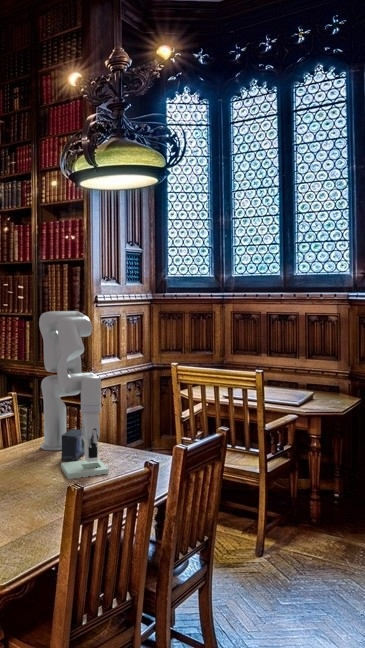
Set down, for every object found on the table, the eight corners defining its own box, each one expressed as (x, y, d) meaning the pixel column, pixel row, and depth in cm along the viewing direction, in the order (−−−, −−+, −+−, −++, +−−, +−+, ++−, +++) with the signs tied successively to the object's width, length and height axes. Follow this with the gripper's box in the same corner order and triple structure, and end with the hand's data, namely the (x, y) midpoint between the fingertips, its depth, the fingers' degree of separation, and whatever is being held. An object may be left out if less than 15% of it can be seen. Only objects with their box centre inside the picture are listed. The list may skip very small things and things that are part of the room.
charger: (84, 459, 212) (84, 433, 212) (95, 458, 214) (94, 432, 213) (87, 462, 209) (87, 435, 208) (97, 460, 210) (97, 434, 210)
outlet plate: (61, 468, 215) (60, 463, 215) (98, 463, 221) (98, 458, 221) (68, 479, 202) (68, 474, 202) (108, 474, 208) (108, 468, 208)
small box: (75, 461, 223) (75, 436, 222) (60, 460, 224) (60, 435, 224) (85, 454, 233) (85, 429, 233) (71, 453, 235) (70, 428, 234)
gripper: (76, 405, 216) (76, 451, 217) (86, 413, 201) (87, 463, 202) (95, 403, 219) (95, 449, 220) (106, 411, 204) (107, 460, 205)
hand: (91, 455), depth 211 cm, fingers closed on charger, 4 cm apart
